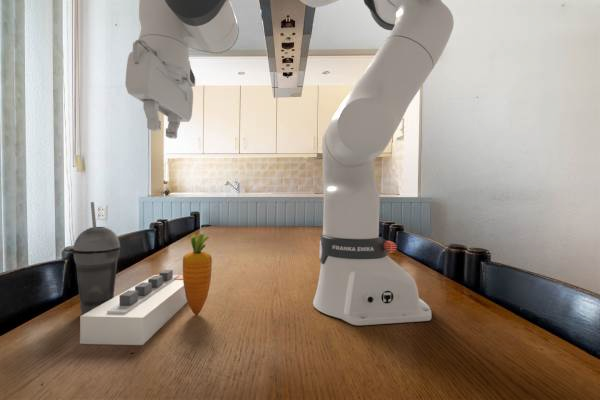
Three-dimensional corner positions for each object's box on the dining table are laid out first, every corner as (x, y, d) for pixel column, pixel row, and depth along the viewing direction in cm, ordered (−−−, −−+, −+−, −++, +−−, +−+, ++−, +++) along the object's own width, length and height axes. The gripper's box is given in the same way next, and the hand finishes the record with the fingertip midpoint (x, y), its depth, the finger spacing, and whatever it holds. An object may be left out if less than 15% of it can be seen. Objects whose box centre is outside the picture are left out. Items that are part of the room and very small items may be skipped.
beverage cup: (96, 323, 50) (97, 203, 49) (60, 318, 51) (61, 202, 51) (129, 307, 57) (130, 202, 56) (97, 303, 58) (98, 201, 58)
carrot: (182, 311, 56) (184, 230, 55) (210, 308, 57) (212, 230, 57) (180, 322, 51) (182, 234, 51) (211, 319, 52) (212, 233, 52)
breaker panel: (195, 294, 65) (195, 266, 65) (142, 345, 43) (143, 303, 43) (154, 293, 65) (154, 265, 65) (80, 343, 43) (80, 302, 43)
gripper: (154, 33, 47) (153, 121, 47) (198, 82, 68) (197, 143, 68) (114, 32, 47) (113, 120, 47) (170, 81, 68) (169, 142, 68)
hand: (163, 134), depth 58 cm, fingers open, 6 cm apart
